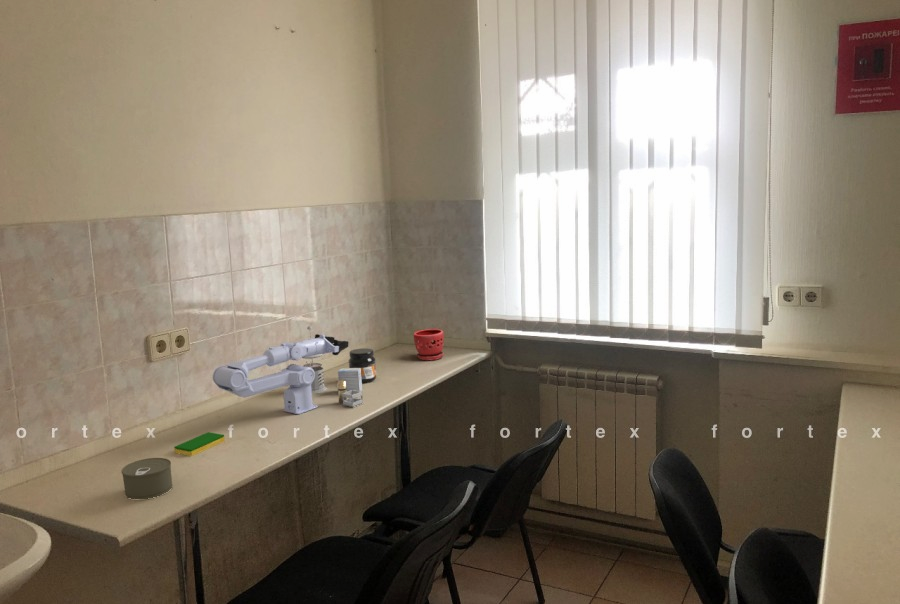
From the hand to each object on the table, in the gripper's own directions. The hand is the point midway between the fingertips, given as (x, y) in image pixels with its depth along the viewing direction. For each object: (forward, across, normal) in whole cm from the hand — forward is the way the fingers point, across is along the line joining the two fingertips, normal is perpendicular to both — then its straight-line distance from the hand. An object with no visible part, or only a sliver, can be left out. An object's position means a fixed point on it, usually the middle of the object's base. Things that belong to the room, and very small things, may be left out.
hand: (340, 341), depth 269 cm
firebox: (-6, -14, +19) cm, 24 cm away
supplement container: (+19, +7, +20) cm, 29 cm away
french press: (-1, +13, +22) cm, 25 cm away
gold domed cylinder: (-6, -9, +20) cm, 22 cm away
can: (-86, -23, +23) cm, 93 cm away
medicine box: (+5, -1, +20) cm, 21 cm away
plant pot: (+60, +8, +18) cm, 63 cm away
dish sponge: (-60, -5, +24) cm, 65 cm away
